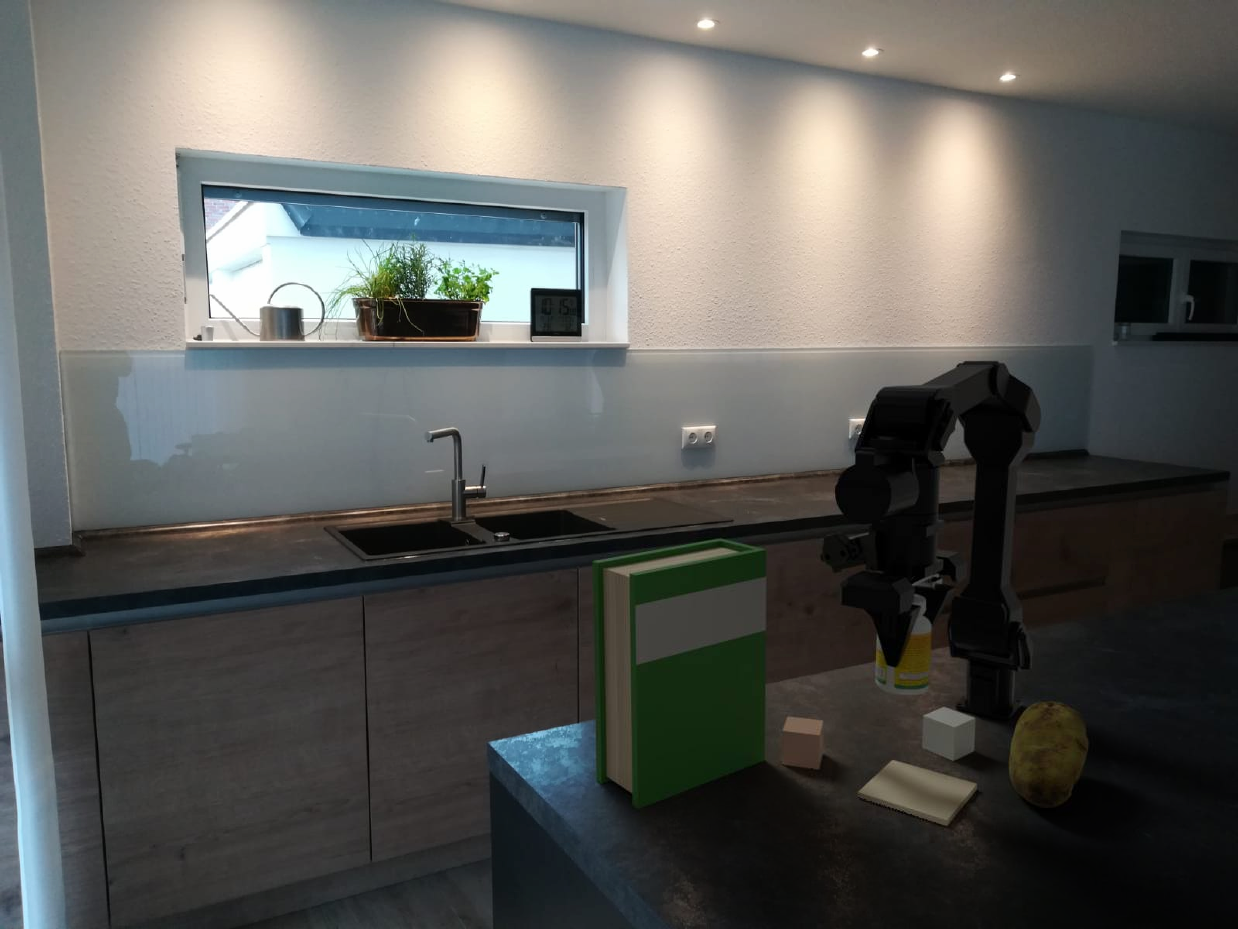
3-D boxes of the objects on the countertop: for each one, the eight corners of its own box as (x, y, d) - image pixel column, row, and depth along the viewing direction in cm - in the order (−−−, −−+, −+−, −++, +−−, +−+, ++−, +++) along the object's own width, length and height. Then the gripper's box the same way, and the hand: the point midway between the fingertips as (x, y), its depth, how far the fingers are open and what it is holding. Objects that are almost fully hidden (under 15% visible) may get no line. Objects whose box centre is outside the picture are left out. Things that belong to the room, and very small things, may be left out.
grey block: (942, 739, 104) (943, 707, 103) (974, 751, 101) (975, 718, 100) (922, 749, 102) (923, 715, 101) (953, 761, 98) (954, 727, 98)
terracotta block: (787, 749, 102) (787, 716, 101) (823, 754, 101) (823, 720, 100) (782, 765, 98) (782, 730, 98) (818, 770, 97) (819, 735, 96)
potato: (975, 794, 91) (978, 719, 90) (1030, 755, 99) (1034, 686, 98) (1060, 825, 85) (1064, 746, 84) (1110, 781, 93) (1115, 708, 92)
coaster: (892, 765, 98) (892, 760, 97) (976, 789, 92) (977, 784, 92) (857, 797, 91) (857, 792, 90) (946, 826, 85) (947, 820, 85)
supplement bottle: (865, 687, 93) (868, 597, 92) (890, 674, 97) (893, 587, 95) (914, 701, 89) (917, 607, 88) (938, 686, 93) (941, 597, 92)
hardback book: (638, 809, 89) (635, 575, 86) (596, 780, 95) (592, 561, 92) (764, 760, 99) (766, 549, 96) (720, 737, 105) (720, 538, 102)
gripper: (873, 492, 103) (869, 623, 105) (792, 514, 89) (789, 666, 90) (971, 502, 96) (965, 643, 97) (900, 527, 81) (894, 692, 83)
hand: (903, 659), depth 92 cm, fingers closed on supplement bottle, 5 cm apart
